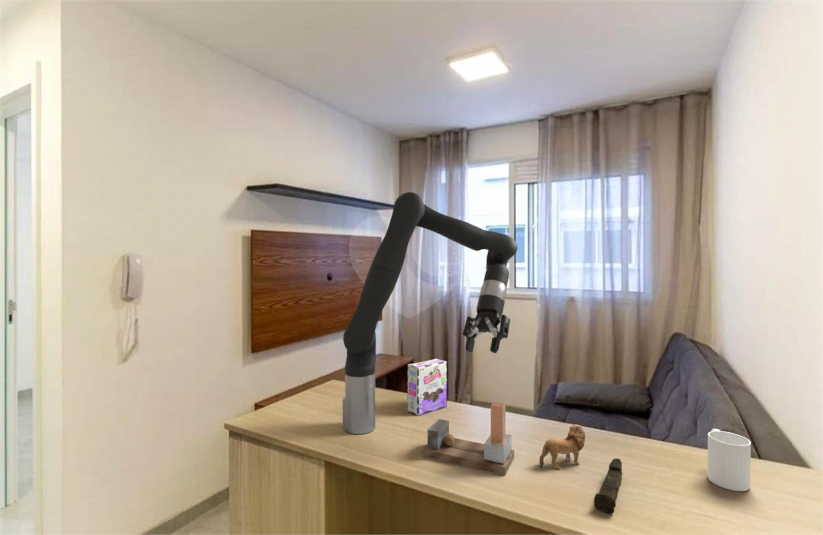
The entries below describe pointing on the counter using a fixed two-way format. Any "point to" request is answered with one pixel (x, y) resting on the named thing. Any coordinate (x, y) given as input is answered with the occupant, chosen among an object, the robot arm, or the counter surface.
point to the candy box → (427, 386)
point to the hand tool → (609, 488)
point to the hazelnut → (449, 440)
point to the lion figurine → (565, 446)
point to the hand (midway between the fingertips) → (480, 351)
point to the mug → (729, 460)
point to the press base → (461, 451)
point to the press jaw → (498, 436)
